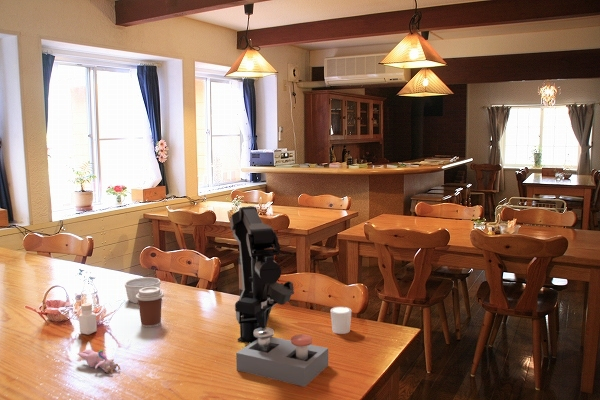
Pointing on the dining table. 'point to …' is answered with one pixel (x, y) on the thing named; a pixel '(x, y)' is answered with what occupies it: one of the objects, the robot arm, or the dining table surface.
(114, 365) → the rabbit figure
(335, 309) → the white cup
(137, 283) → the ramekin
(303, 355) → the red button
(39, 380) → the dining table surface
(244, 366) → the console
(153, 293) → the coffee cup
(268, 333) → the metal button
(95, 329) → the pepper shaker
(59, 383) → the dining table surface
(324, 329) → the dining table surface
